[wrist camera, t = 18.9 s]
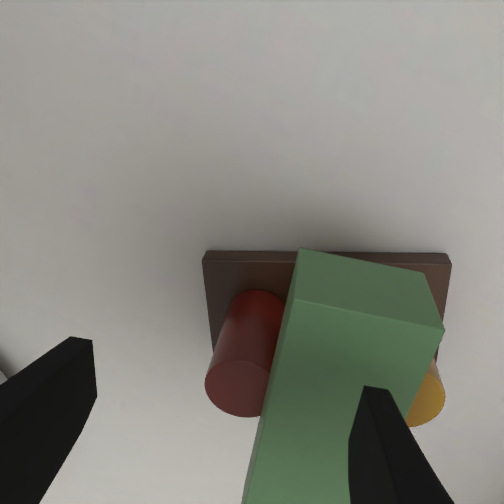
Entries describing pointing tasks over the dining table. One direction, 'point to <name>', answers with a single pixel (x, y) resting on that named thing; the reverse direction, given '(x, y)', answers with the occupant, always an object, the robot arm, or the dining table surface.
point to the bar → (336, 371)
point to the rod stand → (270, 318)
